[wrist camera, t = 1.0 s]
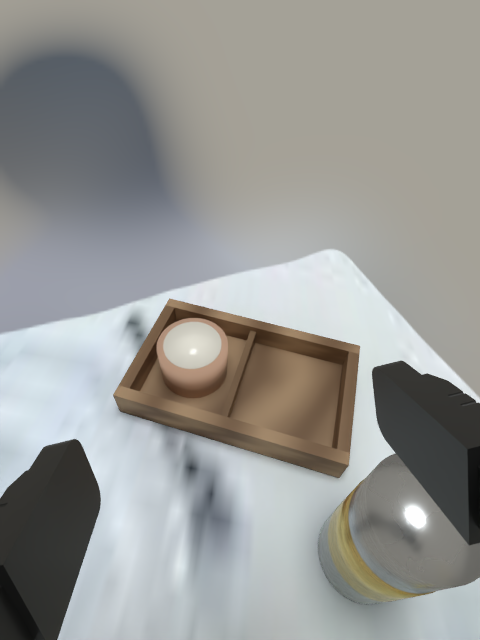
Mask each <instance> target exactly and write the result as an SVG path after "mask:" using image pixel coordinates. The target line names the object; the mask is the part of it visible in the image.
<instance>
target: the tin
mask: <svg viewBox="0 0 480 640" xmlns="http://www.w3.org/2000/svg"><path fill="white" fill-rule="evenodd" d="M318 554H319V560H320V563H321V566H322V569H323V571H324V573H325V575H326V577H327V579H328V580H329V582H330V583H331V584H332V586H333V587H334V588H335V589H336V590H337V591H338V592H339V593H340V594H342V595H343V596H344V597H346V598H347V599H349V600H351V601H353V602H356V603H360V604H376V603H381V602H390V601H396V600H401V599H405V598H410V597H415V596H420V595H425V594H430V593H433V592H435V591H438V590H443V589H448V588H453V587H458V586H462V585H466V584H469V583H471V582H473V581H475V580H476V579H477V578H479V577H480V543H477V544H473V545H470V546H469V545H468V544H467V542H466V541H465V540H464V539H463V537H462V536H461V535H460V533H459V532H458V531H457V530H456V528H455V527H454V526H453V525H452V523H451V522H450V521H449V520H448V518H447V517H446V516H445V515H444V513H443V512H442V511H441V509H440V508H439V507H438V506H437V504H436V503H435V502H434V501H433V499H432V498H431V497H430V496H429V494H428V493H427V492H426V491H425V489H424V488H423V487H422V485H421V484H420V483H419V482H418V480H417V479H416V478H415V477H414V475H413V474H412V473H411V472H410V470H409V469H408V468H407V466H406V465H405V464H404V463H403V461H402V460H401V459H400V458H399V456H398V455H397V454H393V455H391V456H389V457H387V458H385V459H384V460H383V461H381V462H380V463H379V464H378V465H377V467H376V468H375V469H374V470H373V471H372V472H371V473H370V474H369V475H368V476H367V477H366V478H365V479H364V480H363V481H361V482H360V483H359V484H358V486H357V487H356V488H355V489H354V490H353V491H352V492H351V493H350V494H349V495H348V496H347V497H346V499H345V500H344V501H343V502H342V503H341V504H340V505H339V506H338V507H337V508H336V510H335V511H334V513H333V514H332V515H331V516H330V517H329V518H328V519H327V520H326V522H325V523H324V525H323V527H322V529H321V531H320V534H319V539H318Z"/></svg>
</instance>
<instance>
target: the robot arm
mask: <svg viewBox="0 0 480 640" xmlns="http://www.w3.org/2000/svg"><path fill="white" fill-rule="evenodd" d="M372 379H373V388H374V398H375V407H376V416H377V421H378V425H379V428H380V430H381V433H382V435H383V437H384V438H385V440H386V441H387V442H388V444H389V445H390V446H391V448H392V449H393V450H394V451H395V453H396V454H397V455H398V456H399V458H400V459H401V460H402V461H403V463H404V464H405V465H406V466H407V468H408V469H409V470H410V472H411V473H412V474H413V475H414V477H415V478H416V479H417V480H418V482H419V483H420V484H421V485H422V487H423V488H424V489H425V491H426V492H427V493H428V494H429V496H430V497H431V498H432V499H433V501H434V502H435V503H436V504H437V506H438V507H439V508H440V509H441V511H442V512H443V513H444V515H445V516H446V517H447V518H448V520H449V521H450V522H451V523H452V525H453V526H454V527H455V528H456V530H457V531H458V532H459V533H460V535H461V536H462V537H463V539H464V540H465V541H466V542H467V544H468V545H469V546H470V545H473V544H477V543H480V403H476V401H475V400H474V399H473V398H471V397H470V396H469V395H467V394H463V391H462V390H460V389H459V388H457V387H456V386H454V385H453V384H452V383H450V382H449V381H447V380H444V379H441V378H439V377H436V376H433V375H430V374H424V375H421V374H420V373H418V372H417V371H416V370H415V369H413V368H412V367H411V366H409V365H408V364H407V363H405V362H404V361H398V362H394V363H389V364H385V365H381V366H377V367H374V368H373V371H372ZM100 502H101V498H100V490H99V486H98V483H97V481H96V478H95V476H94V474H93V471H92V469H91V466H90V464H89V462H88V459H87V457H86V454H85V452H84V449H83V447H82V445H81V443H80V442H79V441H78V440H76V439H73V440H69V441H65V442H61V443H57V444H52V445H48V446H45V447H44V448H43V449H42V450H41V452H40V454H39V455H38V457H37V458H36V460H35V461H34V463H33V464H32V466H31V468H30V469H29V470H28V471H25V472H24V473H23V474H22V475H21V476H20V477H19V478H18V479H17V480H16V481H14V482H13V483H12V484H11V485H10V486H9V487H8V488H7V489H6V491H5V492H4V494H3V495H2V497H1V498H0V640H57V639H58V636H59V632H60V629H61V626H62V623H63V620H64V617H65V614H66V611H67V608H68V605H69V602H70V599H71V596H72V593H73V590H74V587H75V584H76V581H77V578H78V575H79V571H80V568H81V565H82V562H83V559H84V556H85V553H86V550H87V547H88V544H89V541H90V538H91V535H92V532H93V529H94V526H95V523H96V520H97V517H98V513H99V510H100Z"/></svg>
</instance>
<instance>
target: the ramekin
mask: <svg viewBox="0 0 480 640" xmlns="http://www.w3.org/2000/svg"><path fill="white" fill-rule="evenodd" d="M157 355H158V359H159V364H160V368H161V373H162V378H163V381H164V383H165V385H166V386H167V387H168V388H169V389H170V390H171V391H172V392H173V393H175V394H177V395H179V396H182V397H186V398H201V397H204V396H207V395H210V394H211V393H213V392H215V391H216V390H217V389H218V388H219V387H220V386H221V385H222V384H223V382H224V381H225V378H226V375H227V365H228V340H227V337H226V335H225V333H224V331H223V330H222V329H221V328H220V327H219V326H218V325H216V324H215V323H213V322H211V321H209V320H206V319H201V318H187V319H182V320H179V321H177V322H175V323H173V324H171V325H170V326H168V327H167V328H166V329H165V330H164V331H163V332H162V333H161V335H160V337H159V339H158V342H157Z"/></svg>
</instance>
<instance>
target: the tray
mask: <svg viewBox="0 0 480 640" xmlns="http://www.w3.org/2000/svg"><path fill="white" fill-rule="evenodd" d="M187 318H201V319H206V320H209V321H211V322H213V323H215V324H216V325H218V326H219V327H220V328H221V329H222V330H223V331H224V333H225V335H226V337H227V340H228V365H227V375H226V378H225V381H224V382H223V384H222V385H221V386H220V387H219V388H218V389H217V390H216V391H215V392H213V393H211V394H210V395H207V396H204V397H201V398H186V397H182V396H179V395H177V394H175V393H173V392H172V391H171V390H170V389H169V388H168V387H167V386H166V385H165V383H164V381H163V378H162V373H161V368H160V364H159V359H158V355H157V342H158V339H159V337H160V335H161V333H162V332H163V331H164V330H165V329H166V328H167V327H168V326H170V325H171V324H173V323H175V322H177V321H179V320H182V319H187ZM359 352H360V346H358V345H354V344H350V343H346V342H342V341H338V340H334V339H330V338H326V337H322V336H318V335H314V334H310V333H306V332H302V331H298V330H294V329H290V328H286V327H282V326H278V325H274V324H270V323H266V322H262V321H258V320H254V319H250V318H245V317H241V316H237V315H233V314H229V313H225V312H221V311H217V310H213V309H209V308H205V307H201V306H197V305H193V304H189V303H185V302H181V301H177V300H173V299H169V300H168V302H167V304H166V305H165V307H164V309H163V311H162V312H161V314H160V316H159V317H158V319H157V321H156V323H155V324H154V326H153V328H152V329H151V331H150V333H149V334H148V336H147V338H146V340H145V341H144V343H143V345H142V346H141V348H140V350H139V352H138V353H137V355H136V357H135V358H134V360H133V362H132V364H131V365H130V367H129V369H128V370H127V372H126V374H125V376H124V377H123V379H122V381H121V382H120V384H119V386H118V388H117V389H116V391H115V393H114V394H113V396H114V398H115V401H116V403H117V405H118V407H119V410H120V411H121V412H124V413H127V414H130V415H134V416H137V417H140V418H144V419H147V420H150V421H153V422H157V423H160V424H163V425H167V426H170V427H173V428H177V429H180V430H183V431H186V432H190V433H193V434H196V435H200V436H203V437H206V438H209V439H213V440H216V441H219V442H223V443H226V444H229V445H232V446H236V447H239V448H242V449H246V450H249V451H252V452H256V453H259V454H262V455H265V456H269V457H272V458H275V459H279V460H282V461H285V462H288V463H292V464H295V465H298V466H302V467H305V468H308V469H311V470H315V471H318V472H321V473H325V474H328V475H331V476H334V477H338V478H339V477H340V476H341V475H342V473H343V472H344V471H345V469H346V468H347V467H348V465H349V456H350V446H351V435H352V425H353V414H354V404H355V393H356V383H357V373H358V362H359Z"/></svg>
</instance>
